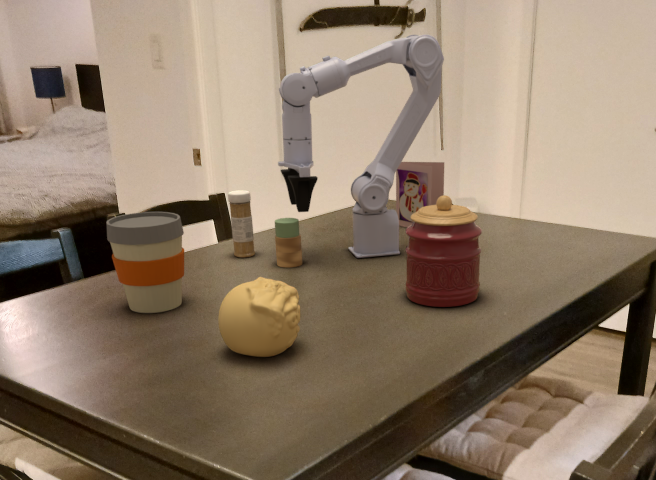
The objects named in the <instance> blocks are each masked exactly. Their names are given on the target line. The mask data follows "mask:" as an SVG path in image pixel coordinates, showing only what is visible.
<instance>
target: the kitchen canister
mask: <svg viewBox="0 0 656 480" xmlns="http://www.w3.org/2000/svg"><path fill="white" fill-rule="evenodd" d="M478 218H479V217H478V214H477V213H475V212H473V211H471V209H470V208H469V207H467V206H463V205H459V204H453V200H452V197H450V196H449V195H443V196H440V197H439V198H438V199H437V202H436V205H430V206H425V207H422V208H420V209H419V210H418V211H417V212H415V213H414V214H412V215H411V220H412V221H413V223H412V225H410V226H409V227H408V228H407V227H406V228H405V234H406V235H407V237H408V244H407V246H406V248H405V253H406V281H405V291H406V297H407V299H409V301H411V302H413V303H416V304H417V305H422V306H426V307H435V308H436V307H437V308H447V307H448V308H449V307H450V308H451V307H460V306H464V305H469V304H471V303H473V302H474V301H476V300H477V299H478V297H479V292H480V286H481V282H480V267H481V265H480V264H481V262H480V261H481V254H482V248H481V246H480V245H479V243H480V242H479V241H480V240H479V238H480V236H481V235H482V234H483V229H482V228H481V227H480V226H479V225H477V223H476V221H477V220H478Z"/></svg>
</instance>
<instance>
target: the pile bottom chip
mask: <svg viewBox="0 0 656 480" xmlns="http://www.w3.org/2000/svg"><path fill="white" fill-rule="evenodd" d="M302 250H303V249H301V250H300V251H298V252H293V253H281V252H277V251H276V250H275V257H276V266H278V267H280V268H286V269H287V268H297V267H300V266H302V265H303V251H302Z"/></svg>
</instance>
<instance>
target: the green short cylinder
mask: <svg viewBox="0 0 656 480" xmlns="http://www.w3.org/2000/svg"><path fill="white" fill-rule="evenodd" d="M274 231H275V233H274V234H275V235H276V236H277V237H280V238H292V237H297V236H299V234H300V220H299V219H298V218H295V217H281V218H277V219H275V220H274Z"/></svg>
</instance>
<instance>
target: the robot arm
mask: <svg viewBox="0 0 656 480" xmlns="http://www.w3.org/2000/svg"><path fill="white" fill-rule="evenodd" d="M444 61H445V57H444V54H443V51H442V48H441V45H440V43H439V41H438V39H437V38H435V36H434V35H431V34H420V35H419V34H409V35H408V36H406V37H399V38H395V39H391V40H387V41H385V42H383V43H380V44H378V45H376V46H374V47H371V48H369V49H367V50H364V51H362V52H360V53H358V54H355V55H353V56H350V57H349V58H347V59H344V60H343V59H342V58H340V57H338V56H330V55H325V56H323V57H322V61H320V62H317V63H315V64H312V65H310V66H308V67H306V66H305V65H303V66H301V67H299V71H300V72H289V73H288V74H286V75H285V76H284V77H283V78H282V79H281V81H280V84H279V88H278V91H279V95H280V97H281V99H282V104H281V109H282V114H281V125H282V149H283V150H282V151H283V161H277V166H278V167H284V168H283V169H282V168H281V169H280V173H281V175H282V177H283V179H284V181H285V182H284V183H285V185H286V189H287V192H288V198H289V202H290V204H291V206H294V205H295V206H296V210H297V212H298V213H308V212H309V211H310V206H311V201H312V197H313V196H312V195H313V191H314V189H315V186H316V184H317V182H318V179H319V177H318V176H316V175H311V169H312V167H314V166H315V165H314V160H313V131H312V130H313V127H312V113H311V101H312V99H313V98H316V99H318V98H319V97H322V96H325V95H327V94H330V93H333V92H335V91H337V90H340V89H342V88H344V87H346V86H347V85H348V82H349V80H350V78H351V77H353V76H356V75H359V74H361V73H364V72H367V71H369V70H372V69H375V68H377V67H381V66H383V65H386V64H396V65H402V66H403V68H404V69H405V70H406V72H407V74H408V77H409V81H410V83H411V87H412V91H411V93H410V95H409V97H408V99H407V101H406V102H405V104H404V105H403V108H402V109H401V110H400V113H399V114H398V117H397V118H396V120H395V121H394V123H393V125H392V127H391V129H390V131H389V132H388V134H387V136H386V138H385V139H384V141H383V143H382V144H381V147H380V148H379V150H378V152H377V154H376V155H375V157H374V159H373V160H372V161H371V162H370V163H369V164H368V165H367V166H366V168H365V169H364V171H363V172H362V173H361V174H360V175H358V176H357V177H356V178H354V180H353V181H352V183H351V185H350V195H351V197H352V199H353V200H354V202H355V204H354V206H353V207H352V210H351V211H352V240H353V241H352V242H353V246H348V248H347V250H349V252H351V254H353V256H354V257H355V258H357V259H361V258H373V257H375V258H376V257H383V256H393V255H394V256H395V255H400V254H401V251H400V226H399V220H398V215H397V212H396V209H394V208H391V209H388V207H387V205H388V203H389V199H390V198H389V197H390V191H391V189H392V187H393V185H394V182H395V181H394V180H395V176H396V170H397V169H398V167H399V165H400V163H401V162H403V160H404V158H405V156H406V155H407V153H408V151H409V149H410V148H411V146H412V145H413V142H414V140H415V139H416V137H417V136H418V134H419V132H420V130H421V129H422V127H423V125H424V123H425V121H426V120H427V119H428V117H429V115H430V113H431V111H432V109H433V108H434V106H435V105H436V102H438V99H439V98H440V95H441V92H442V75H443V73H442V72H443V65H444Z"/></svg>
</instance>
